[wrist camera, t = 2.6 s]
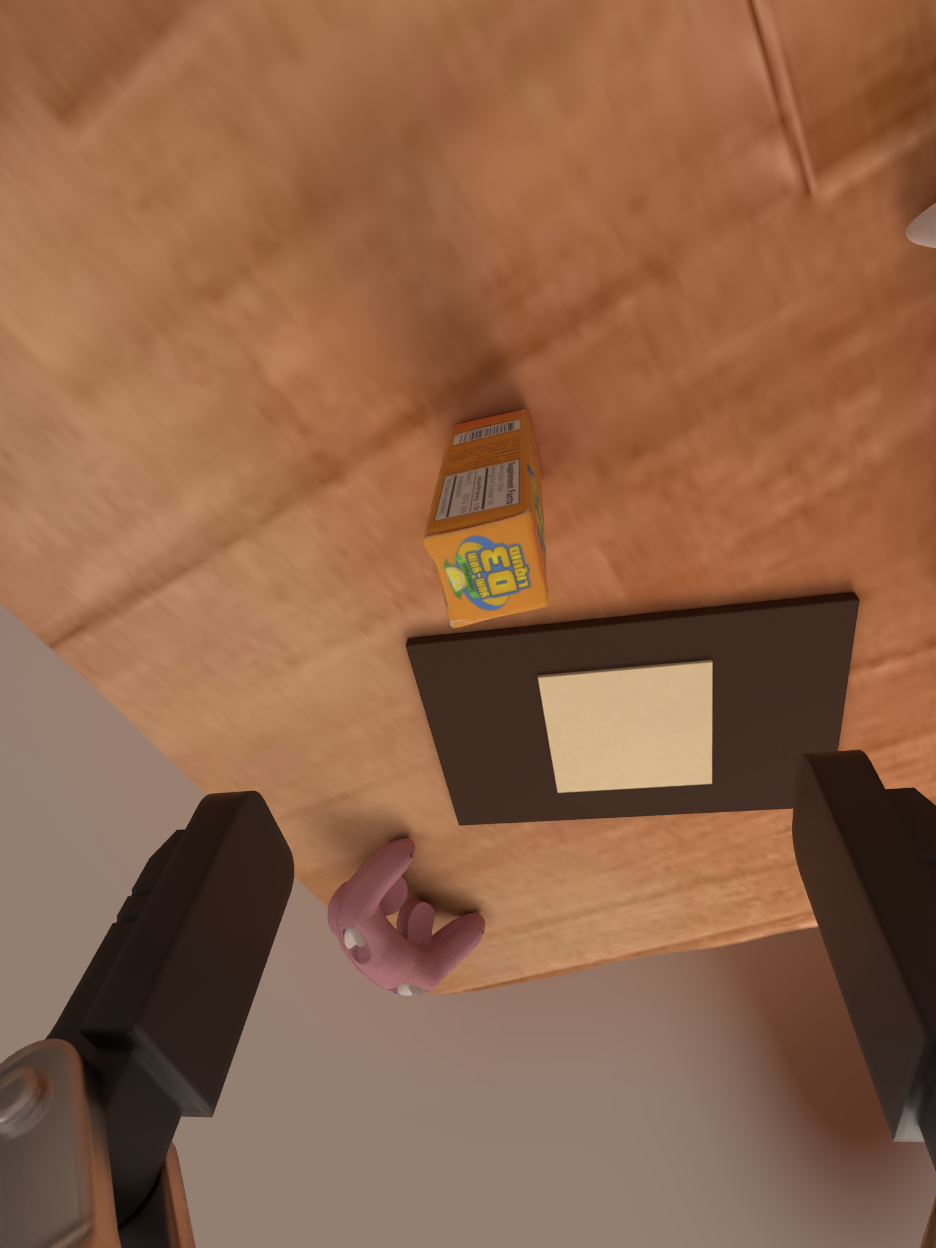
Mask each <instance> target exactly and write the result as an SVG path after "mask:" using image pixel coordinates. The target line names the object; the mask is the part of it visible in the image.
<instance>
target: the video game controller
mask: <svg viewBox="0 0 936 1248" xmlns="http://www.w3.org/2000/svg"><path fill="white" fill-rule="evenodd" d="M414 854H415V844H414V842H413V841H412V840H411V839H409V838H402V839H398V840H395V841H393V842H391V843H389V844H387V845H385V846H384V847H382V848H381V849H380V850H378V851H377V852H376V853H374V854H373V855H372V856H371V857H370V858H369V859H368V860H367V861H366V862H365V863H364V864H363V865H362V866H361V867H360V869H359V870H358V871H357V872H356V873H355V874H354V876H353V877H352V878H351V879H350V880H349V881H348V882H345V883H344V884H342V885H341V886H340V887H339V888H338V889H337V890H336V892H335V893H334V895H333V896H332V898H331V900H330V903H329V906H328V923H329V927H330V929H331V931H332V932H333V933H334V934H335V935H336V937H337V938H338V940H339V942H340V945H341V947H342V950H343V951H344V953H345V955H346V957H347V958H348V960H349V961H350V962H351V963H352V965H353V966H354V967H355V968H356V969H357V970H358V971H359V972H360V973H361V974H362V975H363V976H364V977H365V978H367V979H368V980H370V981H371V982H373V983H375V984H376V985H378V986H380V987H382V988H385V989H387V990H390V991H393V992H395V993H397V994H400V995H405V996H410V995H413V996H414V997H417V998H418V997H420V996H422V994H423V993H424V992H426V991H431V990H432V989H434V988H435V987H436V986H437V985H438V984H439V983H440V982H441V981H442V980H443V979H444V978H445V977H446V976H447V975H448V973H449V972H450V971H451V970H452V969H453V968H454V967H455V966H456V965H458V964H459V963H460V962H461V961H462V960H463V959H464V958H465V957H466V956H467V955H468V954H469V953H470V952H471V951H472V950H473V949H474V948H475V947H476V946H477V945H478V943H479V941H480V939H481V938H482V936H483V933H484V929H485V920H484V918H483V917H482V915H480V914H479V913H470V914H465V915H463V916H460V917H459V918H457V919H455V920H453V921H452V922H450V923H449V924H447V925H446V926H444V927H443V928H442V929H440V930H439V931H437V932H436V933H435V934H434V935H432V928H433V923H434V910H433V908H432V906H431V905H430V904H428V903H425V902H422V901H419V900H415V899H411V900H408V901H407V902H405V900H406V898H407V893H408V889H407V883H406V881H405V879H404V878H403V877H402V876H401V875H402V874H403V873H404V872H405V871H406V870H407V868H408V867H409V865H410V863H411V861H412V860H413V857H414ZM404 902H405V903H404ZM402 905H403V906H402ZM400 908H401V909H400ZM399 909H400V911H399V914H398V919H397V930H396V929H395V928H394V927H393V926H392V924H391V923H390V922H389V921H388V919H387V918H386V917H385V916H387V915H390V914H393V913H395V912H396V911H398V910H399ZM431 935H432V936H431Z"/></svg>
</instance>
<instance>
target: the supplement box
mask: <svg viewBox="0 0 936 1248" xmlns="http://www.w3.org/2000/svg"><path fill="white" fill-rule="evenodd" d="M423 542H424V545H425V547H426V550H427V552H428V554H429V556H430V557H431V558H432V561H433V564H434V567H435V571H436V574H437V577H438V580H439V584H440V587H441V590H442V594H443V597H444V601H445V604H446V608H447V613H448V617H449V623H450V625H451V627H453V628H458V627H462V626H466V625H469V624H473V623H476V622H480V621H484V620H487V619H491V618H495V617H500V616H504V615H508V614H513V613H519V612H524V611H529V610H533V609H537V608H542V607H546V606H548V605H549V598H548V590H547V578H546V550H545V535H544V516H543V498H542V472H541V466H540V461H539V456H538V451H537V446H536V442H535V438H534V433H533V429H532V424H531V420H530V416H529V412H528V410H527V409H522V410H518V411H514V412H510V413H505V414H501V415H496V416H491V417H487V418H482V419H478V420H474V421H469V422H465V423H460V424H456V425H453V426H452V427H451V430H450V434H449V439H448V442H447V445H446V449H445V453H444V457H443V461H442V464H441V469H440V473H439V477H438V481H437V485H436V489H435V494H434V497H433V501H432V505H431V509H430V513H429V517H428V521H427V525H426V528H425V537H424V538H423Z"/></svg>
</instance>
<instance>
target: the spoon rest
mask: <svg viewBox="0 0 936 1248" xmlns="http://www.w3.org/2000/svg"><path fill="white" fill-rule="evenodd" d="M905 235H906V237H907V238H908V239H909V240H910V241H911V242H913V243H915V244H919V245H922V246H927V247H932V248H936V203H934V204H933V205H931V206H930V207H929V208H927V209H926V210H925V211H923V212H922V213H921V214H920V215H918V216H917V217H916V218H915V219H914V220H913V221H912V222H911V223H910V224H909V225H908V227H907V228H906V230H905Z"/></svg>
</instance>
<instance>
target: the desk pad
mask: <svg viewBox="0 0 936 1248" xmlns="http://www.w3.org/2000/svg"><path fill="white" fill-rule="evenodd" d="M858 605H859V598H858V597H857V596H856V594H855V593H846V594H836V595H826V596H817V597H807V598H797V599H788V600H778V601H769V602H759V603H749V604H740V605H730V606H720V607H711V608H701V609H692V610H682V611H672V612H663V613H653V614H643V615H634V616H624V617H615V618H605V619H595V620H586V621H576V622H566V623H557V624H547V625H538V626H528V627H518V628H509V629H499V630H489V631H480V632H470V633H461V634H451V635H441V636H432V637H422V638H412V639H408V640H407V644H406V648H407V651H408V655H409V658H410V662H411V665H412V668H413V672H414V675H415V678H416V682H417V685H418V689H419V692H420V695H421V699H422V702H423V705H424V709H425V712H426V715H427V719H428V722H429V726H430V729H431V732H432V736H433V739H434V742H435V746H436V749H437V753H438V756H439V759H440V763H441V766H442V769H443V773H444V776H445V780H446V783H447V786H448V790H449V793H450V796H451V800H452V803H453V807H454V810H455V813H456V817H457V820H458V823H459V825H479V824H498V823H518V822H537V821H557V820H576V819H596V818H616V817H635V816H655V815H674V814H694V813H714V812H733V811H753V810H772V809H792V808H794V798H795V786H796V774H797V763H798V758H799V756H800V755H801V754H807V753H821V752H835V751H838V746H839V738H840V731H841V724H842V717H843V710H844V703H845V696H846V689H847V682H848V675H849V668H850V661H851V654H852V647H853V640H854V633H855V626H856V619H857V612H858Z"/></svg>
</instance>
